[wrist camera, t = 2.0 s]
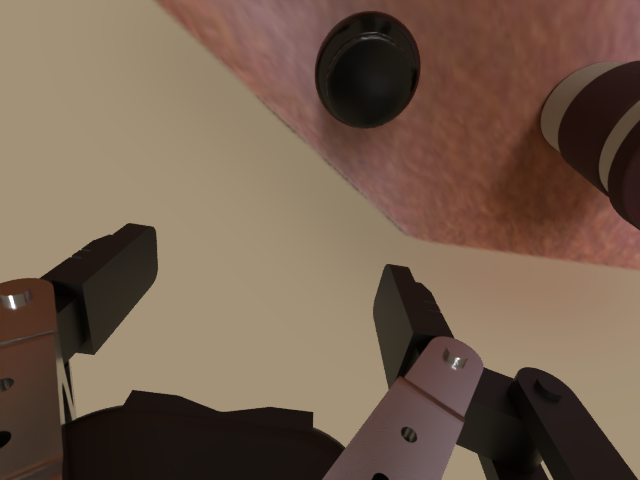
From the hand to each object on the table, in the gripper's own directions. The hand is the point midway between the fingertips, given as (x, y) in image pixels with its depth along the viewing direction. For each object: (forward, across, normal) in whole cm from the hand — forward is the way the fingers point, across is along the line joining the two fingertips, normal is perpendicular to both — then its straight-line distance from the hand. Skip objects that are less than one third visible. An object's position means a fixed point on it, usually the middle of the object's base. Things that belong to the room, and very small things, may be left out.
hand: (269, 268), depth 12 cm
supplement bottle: (+22, -4, -8) cm, 24 cm away
